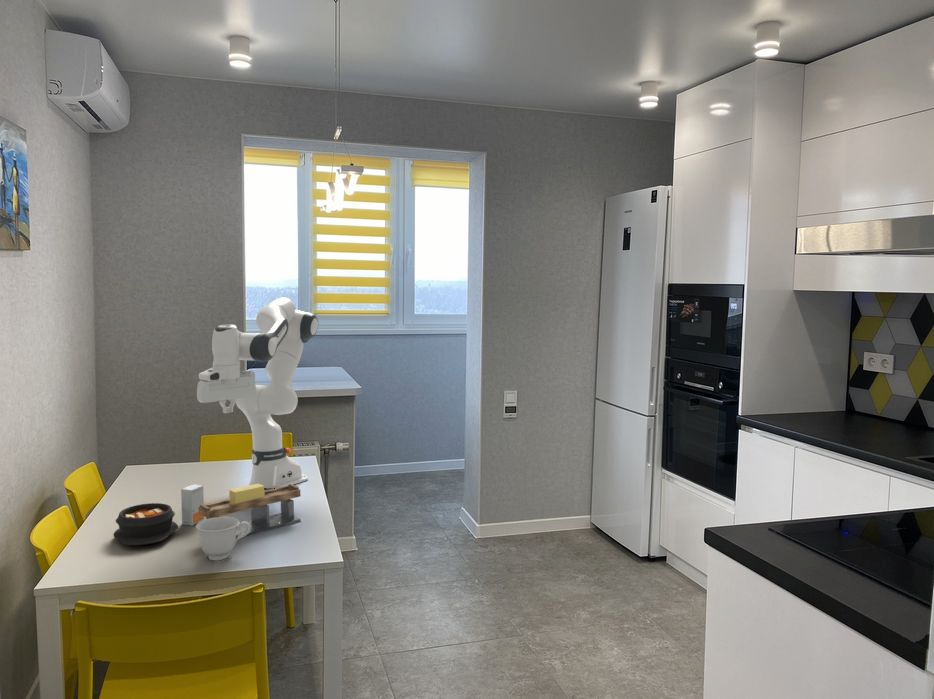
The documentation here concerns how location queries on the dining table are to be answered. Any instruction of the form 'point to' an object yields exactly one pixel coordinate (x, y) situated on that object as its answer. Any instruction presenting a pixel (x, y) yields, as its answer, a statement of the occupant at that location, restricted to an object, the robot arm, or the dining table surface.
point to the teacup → (219, 535)
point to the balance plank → (249, 502)
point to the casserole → (145, 524)
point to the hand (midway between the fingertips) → (228, 412)
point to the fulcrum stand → (269, 518)
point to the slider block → (246, 493)
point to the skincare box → (192, 504)
